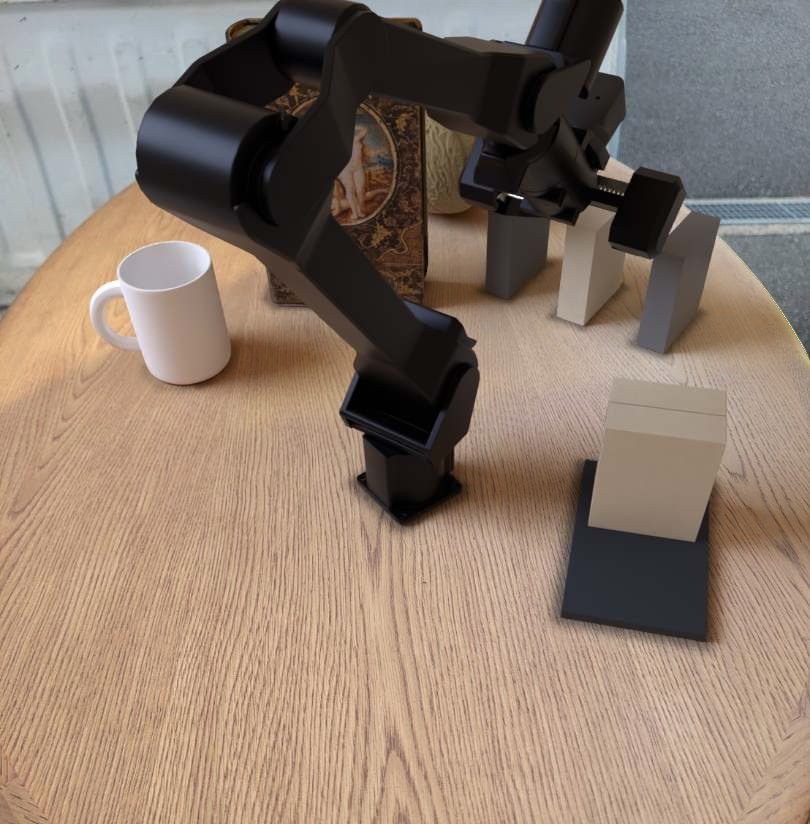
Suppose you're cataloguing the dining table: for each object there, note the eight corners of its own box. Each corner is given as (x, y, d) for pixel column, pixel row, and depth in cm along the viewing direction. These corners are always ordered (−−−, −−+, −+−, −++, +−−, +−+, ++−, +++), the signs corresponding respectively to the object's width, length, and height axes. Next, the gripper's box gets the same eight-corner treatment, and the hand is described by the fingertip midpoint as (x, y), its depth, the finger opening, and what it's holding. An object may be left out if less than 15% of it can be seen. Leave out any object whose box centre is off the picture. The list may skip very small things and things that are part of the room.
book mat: (560, 617, 62) (576, 514, 54) (583, 465, 73) (600, 360, 65) (704, 641, 61) (743, 539, 53) (707, 483, 71) (741, 376, 63)
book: (266, 305, 90) (218, 41, 71) (276, 276, 94) (234, 17, 75) (424, 309, 88) (418, 41, 70) (428, 279, 92) (424, 17, 73)
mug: (101, 394, 81) (65, 298, 74) (114, 341, 87) (82, 246, 79) (230, 384, 82) (207, 287, 74) (235, 332, 87) (214, 237, 79)
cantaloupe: (516, 233, 98) (525, 93, 86) (385, 242, 97) (377, 103, 86) (498, 171, 107) (503, 39, 96) (379, 180, 107) (371, 47, 96)
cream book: (583, 326, 86) (596, 232, 78) (556, 316, 87) (566, 223, 79) (620, 287, 90) (635, 194, 82) (593, 279, 91) (606, 186, 84)
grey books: (663, 354, 82) (685, 258, 75) (484, 291, 90) (488, 199, 83) (697, 312, 86) (721, 218, 79) (523, 256, 94) (530, 165, 87)
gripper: (703, 72, 61) (726, 163, 75) (478, 26, 69) (537, 117, 83) (636, 226, 63) (671, 287, 77) (423, 164, 71) (490, 230, 85)
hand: (590, 225), depth 80 cm, fingers open, 9 cm apart
